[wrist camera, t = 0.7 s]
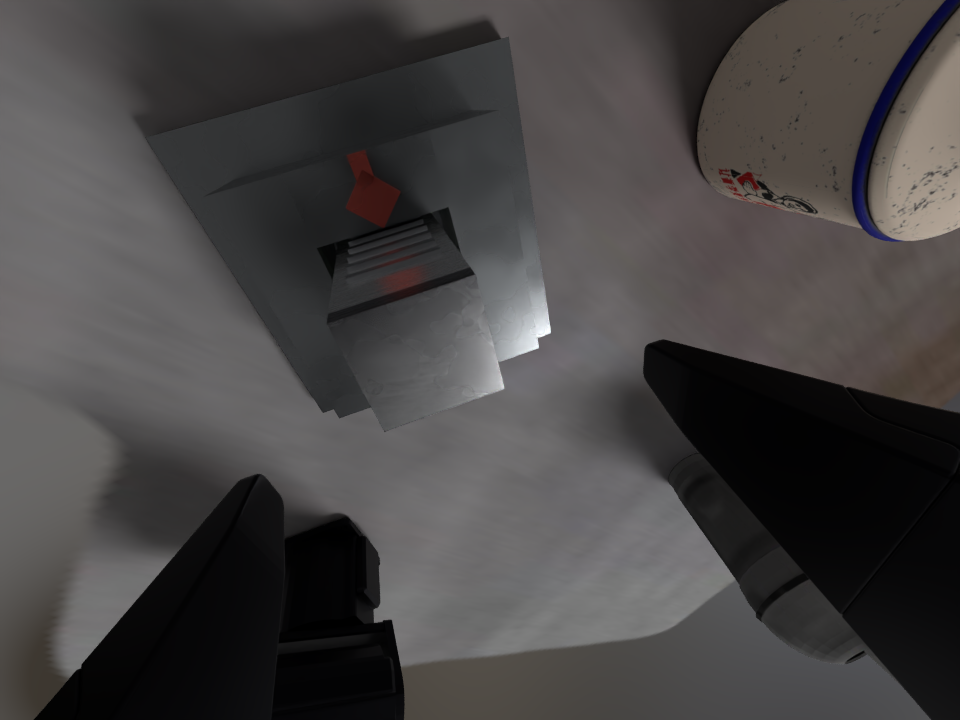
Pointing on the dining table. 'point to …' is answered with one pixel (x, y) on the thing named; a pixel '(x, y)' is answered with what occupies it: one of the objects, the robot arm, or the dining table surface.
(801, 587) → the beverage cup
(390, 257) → the column
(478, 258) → the base
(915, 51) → the teacup with lid
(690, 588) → the dining table surface
